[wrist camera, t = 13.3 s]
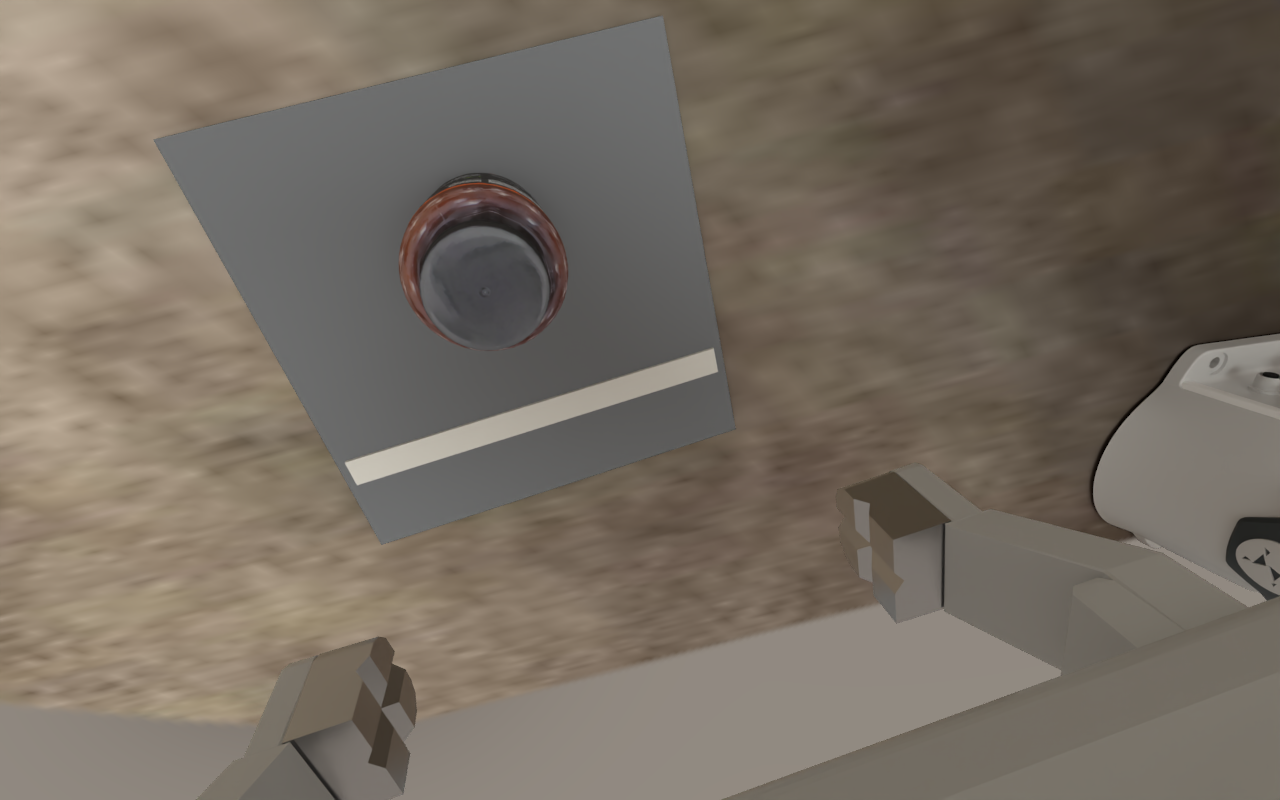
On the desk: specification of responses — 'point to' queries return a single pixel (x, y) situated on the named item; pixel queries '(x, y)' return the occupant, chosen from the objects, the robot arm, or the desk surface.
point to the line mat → (412, 353)
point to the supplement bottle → (483, 263)
